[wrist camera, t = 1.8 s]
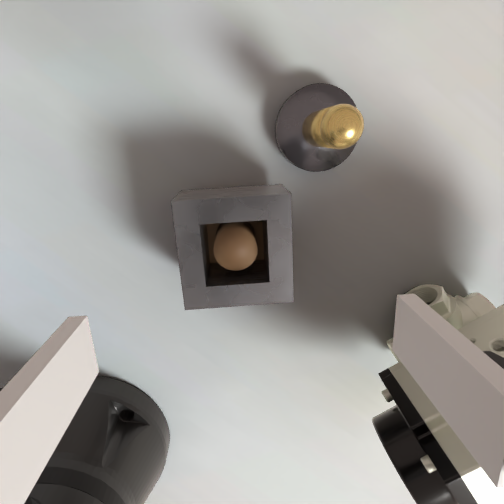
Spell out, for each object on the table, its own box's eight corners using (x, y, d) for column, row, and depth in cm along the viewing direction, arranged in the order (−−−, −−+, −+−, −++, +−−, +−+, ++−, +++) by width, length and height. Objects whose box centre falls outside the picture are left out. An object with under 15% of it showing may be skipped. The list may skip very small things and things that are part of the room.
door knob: (276, 172, 29) (293, 186, 21) (273, 88, 27) (291, 66, 19) (352, 167, 30) (398, 179, 21) (354, 83, 28) (407, 60, 19)
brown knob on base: (204, 265, 32) (198, 290, 26) (197, 199, 30) (189, 212, 25) (270, 260, 32) (278, 285, 27) (267, 194, 30) (275, 206, 25)
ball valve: (496, 232, 32) (787, 338, 15) (526, 302, 34) (807, 460, 18) (325, 332, 34) (414, 520, 18) (365, 390, 37) (476, 605, 20)
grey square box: (192, 283, 30) (184, 309, 26) (181, 190, 28) (170, 201, 23) (284, 276, 31) (293, 301, 26) (281, 184, 28) (291, 193, 23)
